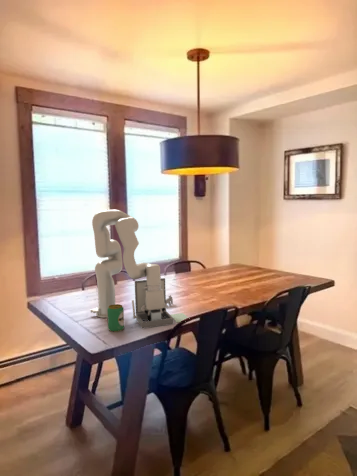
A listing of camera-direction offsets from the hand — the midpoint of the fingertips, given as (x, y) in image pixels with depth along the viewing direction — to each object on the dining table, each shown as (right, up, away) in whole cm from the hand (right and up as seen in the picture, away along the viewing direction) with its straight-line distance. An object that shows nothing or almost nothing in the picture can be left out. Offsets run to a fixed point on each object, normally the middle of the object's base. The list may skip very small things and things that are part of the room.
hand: (154, 320), depth 192 cm
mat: (+13, 0, +6) cm, 14 cm away
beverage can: (-19, -2, -9) cm, 21 cm away
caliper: (+2, +1, +25) cm, 25 cm away
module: (0, -1, 0) cm, 1 cm away
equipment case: (-1, -1, 0) cm, 1 cm away
